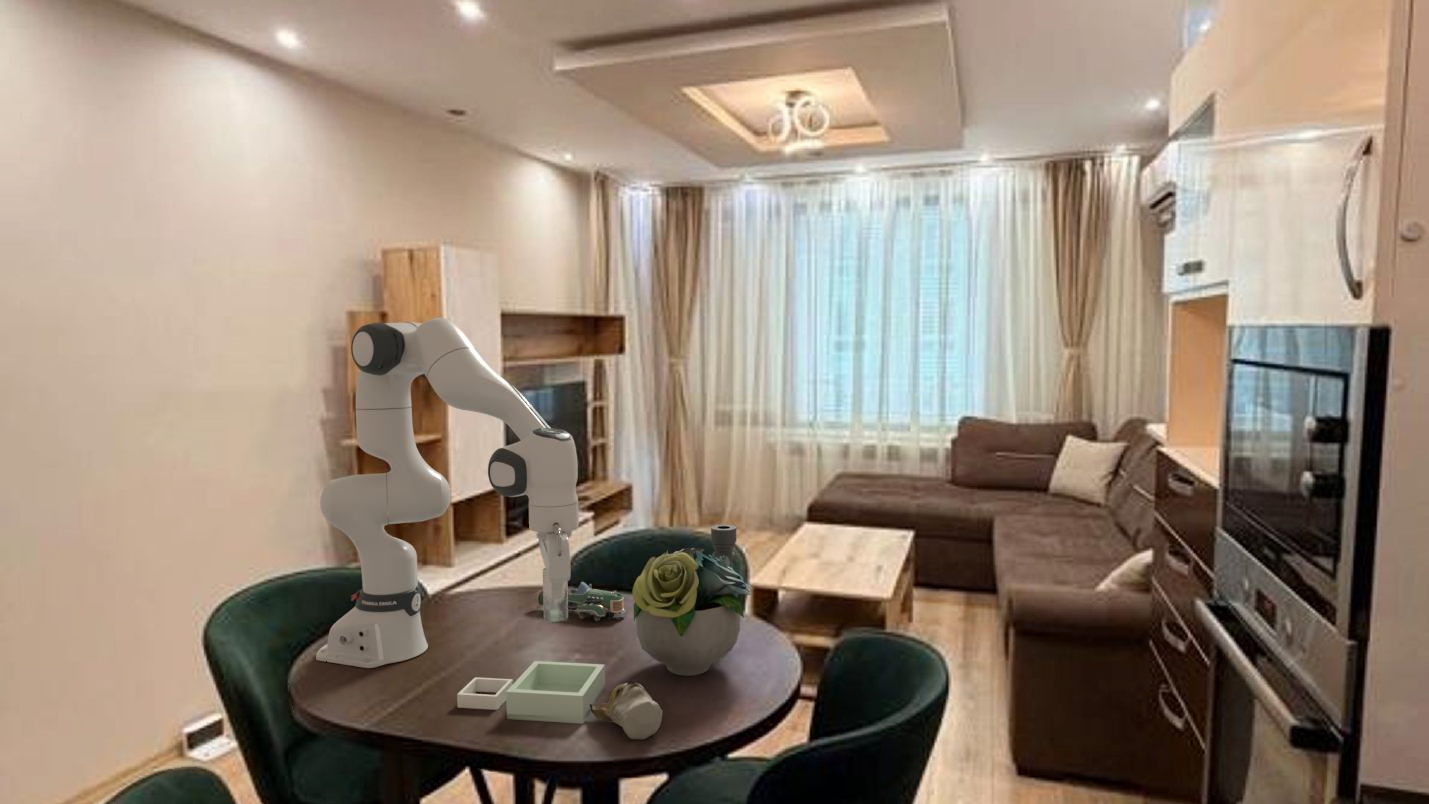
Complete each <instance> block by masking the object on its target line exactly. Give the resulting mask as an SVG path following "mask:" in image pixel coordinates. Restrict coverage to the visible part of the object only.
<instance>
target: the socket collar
mask: <svg viewBox="0 0 1429 804" xmlns="http://www.w3.org/2000/svg"><path fill="white" fill-rule="evenodd" d="M513 684H514V679H512V678H496V677H495V678H494V677H474V678H473V679H472V680H470V681H469V682H468V683H467V684H466V685H465V686H464V687H463V688H462V689H461V690H460V691H459V692H457V694H456V696H457V697H456V701H457V705H456V706H457V708H459V709H461V708H463V709H476V710H495V711H497V710H499V708H500V707H501V706H502V705H503V704H504V703H505V702H506V691H507V690H508V689H509V688H510V687H511V686H512V685H513ZM477 692H479V693H480V694H479V693H477ZM483 692H484V693H483ZM482 693H483V694H482ZM485 693H496V694H485Z"/></svg>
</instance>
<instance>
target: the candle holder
mask: <svg viewBox="0 0 1429 804" xmlns="http://www.w3.org/2000/svg"><path fill="white" fill-rule="evenodd" d="M710 541H711V543H712V547H713V549H714V552H713V553H712V554H711V556H712V555H713V556H715V557H716V558H717V559H718V558H719V557H720V556H721V557H722V559H723V560H724V558H723V556H727V557H728V558H729V561H730V565H729V567H730V568H732V570H734V569H733V560H734V559H735V557H736V553H735V552H734V551H733V550H734V547H735V546H736V542H737V526H736V525H733V524H716V525H712V526H711V527H710ZM736 597H738V598H739V596H738V595H737V596H736Z"/></svg>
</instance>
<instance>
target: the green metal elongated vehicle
mask: <svg viewBox="0 0 1429 804" xmlns="http://www.w3.org/2000/svg"><path fill="white" fill-rule="evenodd" d="M592 587H593V586H592V583H590V584H589V585H588V584H587V583H586V582H584V581H581V582H580V584H579V585H578V588H572V589H570V592H568V613H575V611H576V610H577V611H578V612H579V613H578V615H579V618H580V619H581V620H583V619H585V617H587V614H588V615H589V616H593V619H594V621H595V622H598V621H601V618H602V617H604V619H606V620H611V618H610V617H611V616H612V617H615V621H617V618H620V619H618V621H619V620H622V619H624V617H625V616H626V615H627V614H626V613H627V611H626V609H624V599H625V598H624V597H623V594H622V593H619V592H617V590H613V591H608V590H601V589H596V588H592ZM533 600H534V602H535V603H536V604H537V605H539V606H543V589H541V590H539V591H536V592H535V593H534V594H533ZM610 613H612V614H610ZM607 614H608V616H610V617H606V615H607Z"/></svg>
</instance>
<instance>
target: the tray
mask: <svg viewBox="0 0 1429 804" xmlns="http://www.w3.org/2000/svg"><path fill="white" fill-rule="evenodd" d="M605 691H606V665H605V664H602V663H586V662H585V663H580V662H563V661H562V662H561V661H560V662H559V661H545V660H543V661H542V660H541V661H540V660H534V661H533V662H532V663H531V665H529V667H528V668H526V669H525V671H524V672H523V673H522V674H521V675H520V676H519V677H518V678H517V679H516V681H515V682H513V685H512V686H511V687H510V688H509V689H508V690H507V691H506V701H505V702H506V719H507V720H517V721H519V720H520V721H532V722H535V721H536V722H537V721H538V722H549V723H550V722H551V723H564V724H565V723H566V724H567V723H568V724H581V725H582V724H584V723H585V722H586V720H587V719H588V717H590V715H591V713H592V711H591V708H590V704H594V705H597V703H598V702H599V700H600V699H601V697H602V696H603V694H604V692H605Z"/></svg>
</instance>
